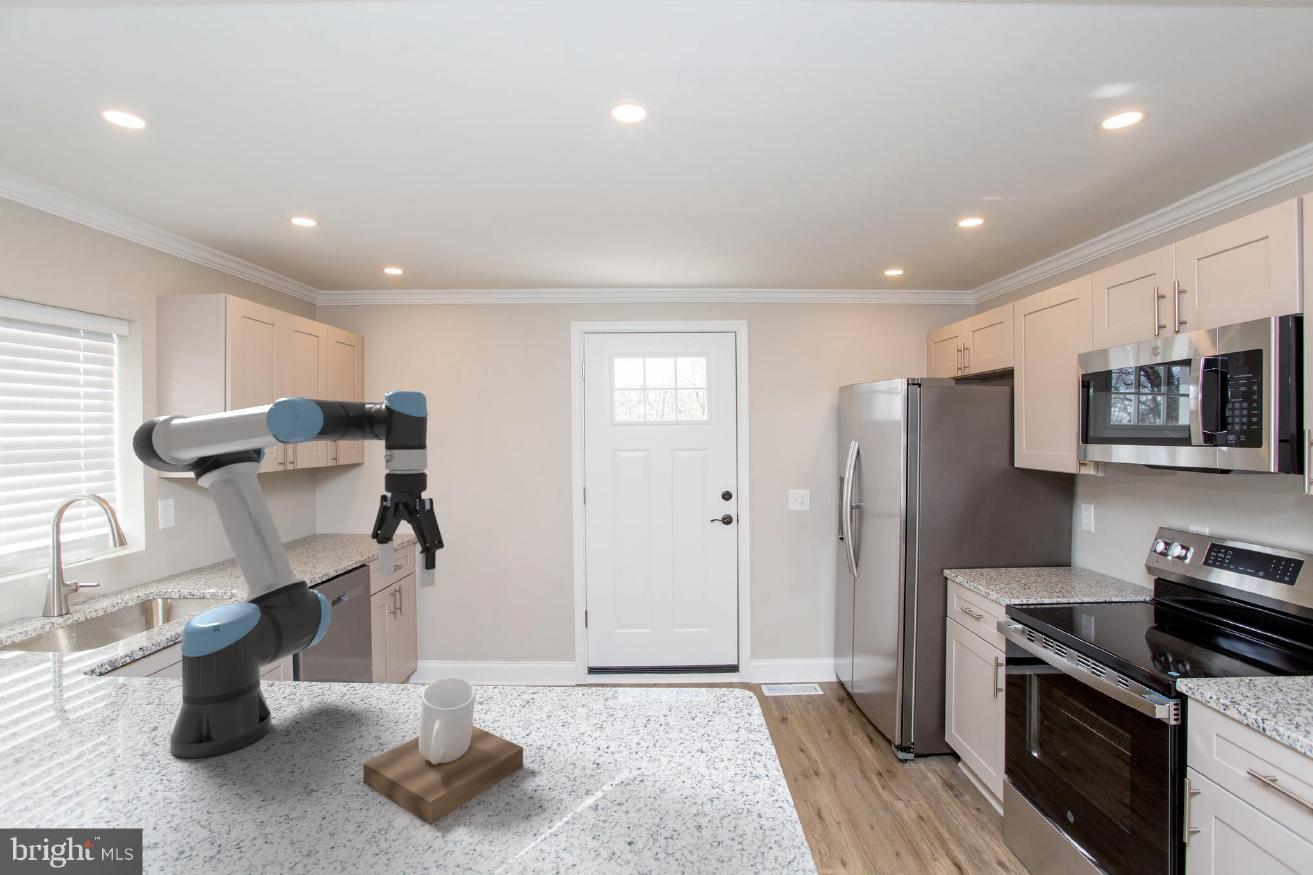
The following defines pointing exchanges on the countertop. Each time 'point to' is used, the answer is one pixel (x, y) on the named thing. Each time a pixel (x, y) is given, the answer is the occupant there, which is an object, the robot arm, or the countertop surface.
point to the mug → (446, 719)
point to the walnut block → (441, 774)
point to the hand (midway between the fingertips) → (406, 581)
